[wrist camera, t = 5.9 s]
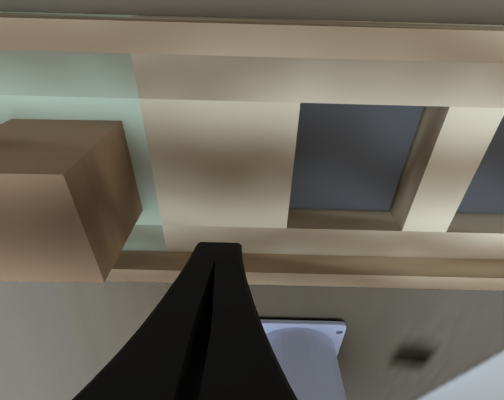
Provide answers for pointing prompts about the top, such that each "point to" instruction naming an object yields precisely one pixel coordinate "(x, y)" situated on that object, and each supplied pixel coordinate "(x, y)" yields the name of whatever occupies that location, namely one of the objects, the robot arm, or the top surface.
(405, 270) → the trap track
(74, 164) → the walnut block
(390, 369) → the top surface
